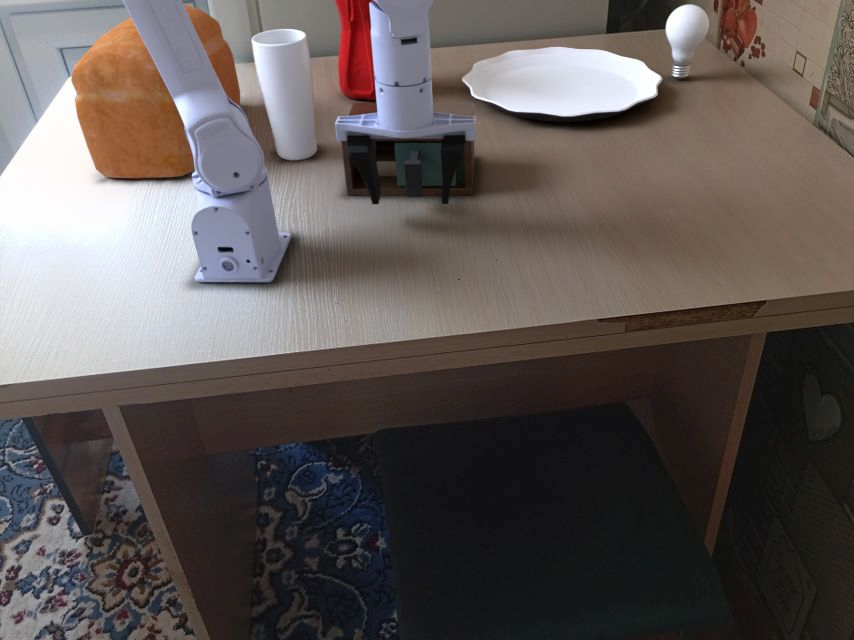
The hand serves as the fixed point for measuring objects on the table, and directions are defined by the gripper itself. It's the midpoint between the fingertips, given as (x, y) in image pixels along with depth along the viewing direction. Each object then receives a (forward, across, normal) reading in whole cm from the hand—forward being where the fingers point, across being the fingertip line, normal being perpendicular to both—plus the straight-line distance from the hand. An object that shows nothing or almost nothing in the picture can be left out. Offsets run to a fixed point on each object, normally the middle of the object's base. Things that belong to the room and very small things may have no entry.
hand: (411, 200), depth 87 cm
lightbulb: (+3, -38, -46) cm, 60 cm away
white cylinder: (+3, +17, -19) cm, 25 cm away
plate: (+3, -19, -40) cm, 45 cm away
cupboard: (+3, +1, -12) cm, 12 cm away
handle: (+2, -1, -5) cm, 5 cm away
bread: (+3, +35, -24) cm, 42 cm away
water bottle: (+3, +10, -41) cm, 42 cm away
